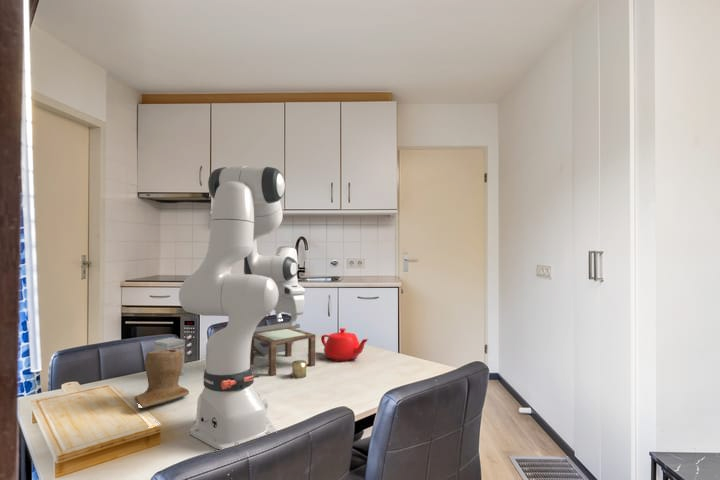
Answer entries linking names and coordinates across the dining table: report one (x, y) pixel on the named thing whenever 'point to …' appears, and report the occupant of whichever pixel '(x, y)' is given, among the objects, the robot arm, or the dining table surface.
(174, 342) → the supplement box
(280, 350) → the grey anvil
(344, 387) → the dining table surface
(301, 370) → the cylinder
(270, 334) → the trapdoor
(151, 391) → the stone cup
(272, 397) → the dining table surface
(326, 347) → the teapot
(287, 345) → the frame
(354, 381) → the dining table surface
